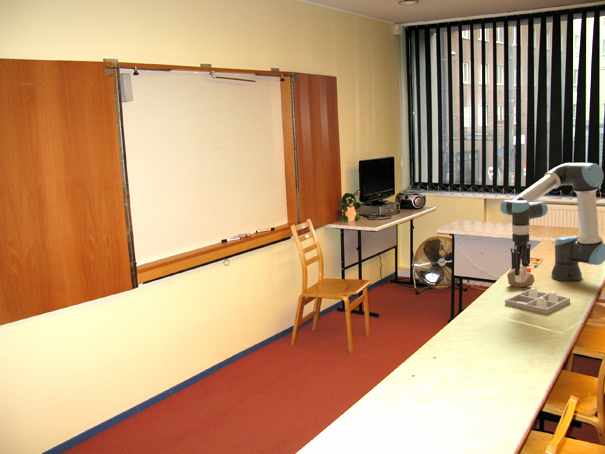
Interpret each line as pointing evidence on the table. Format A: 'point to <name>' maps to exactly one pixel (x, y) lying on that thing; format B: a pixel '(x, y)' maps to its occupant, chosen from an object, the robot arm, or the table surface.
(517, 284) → the low-poly potato
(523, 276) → the brown egg
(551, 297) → the white egg
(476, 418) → the table surface
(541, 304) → the white egg
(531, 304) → the carton
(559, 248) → the robot arm
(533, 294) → the white egg
